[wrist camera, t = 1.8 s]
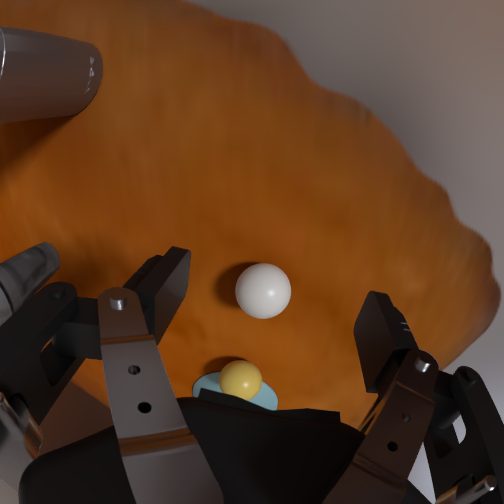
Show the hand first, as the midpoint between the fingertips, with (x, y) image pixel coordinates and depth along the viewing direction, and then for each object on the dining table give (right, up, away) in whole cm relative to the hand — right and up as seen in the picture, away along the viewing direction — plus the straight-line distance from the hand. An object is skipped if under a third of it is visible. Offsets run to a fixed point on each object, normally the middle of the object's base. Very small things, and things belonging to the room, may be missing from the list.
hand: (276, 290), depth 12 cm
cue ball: (0, -2, +18) cm, 18 cm away
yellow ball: (-2, -15, +24) cm, 28 cm away
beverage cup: (-30, +1, +23) cm, 38 cm away
